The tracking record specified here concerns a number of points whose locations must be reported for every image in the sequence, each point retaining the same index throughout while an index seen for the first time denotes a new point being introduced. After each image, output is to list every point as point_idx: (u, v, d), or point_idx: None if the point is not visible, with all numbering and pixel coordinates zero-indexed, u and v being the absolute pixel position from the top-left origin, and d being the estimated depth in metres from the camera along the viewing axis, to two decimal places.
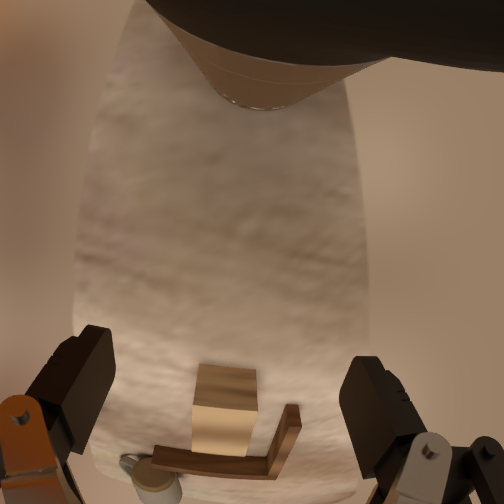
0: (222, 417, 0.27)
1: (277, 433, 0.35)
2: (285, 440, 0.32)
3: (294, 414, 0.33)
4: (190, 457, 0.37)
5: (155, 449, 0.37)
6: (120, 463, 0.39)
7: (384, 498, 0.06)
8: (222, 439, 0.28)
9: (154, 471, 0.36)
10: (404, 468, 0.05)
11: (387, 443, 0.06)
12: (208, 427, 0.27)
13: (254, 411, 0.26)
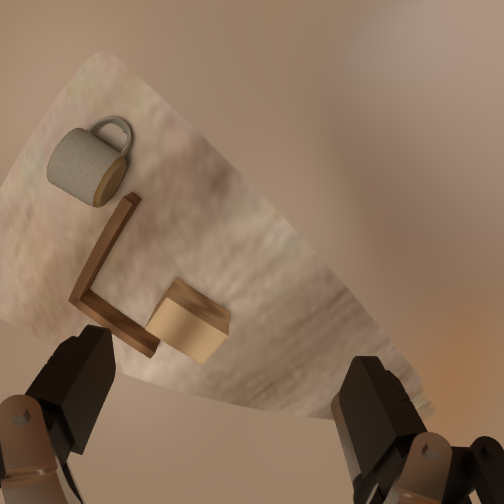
0: (206, 344, 0.38)
1: (129, 321, 0.43)
2: (137, 342, 0.41)
3: None
4: (118, 233, 0.38)
5: (138, 201, 0.37)
6: (123, 124, 0.33)
7: (384, 498, 0.06)
8: (177, 329, 0.38)
9: (113, 185, 0.34)
10: (404, 468, 0.05)
11: (387, 443, 0.06)
12: (198, 330, 0.38)
13: (203, 362, 0.39)
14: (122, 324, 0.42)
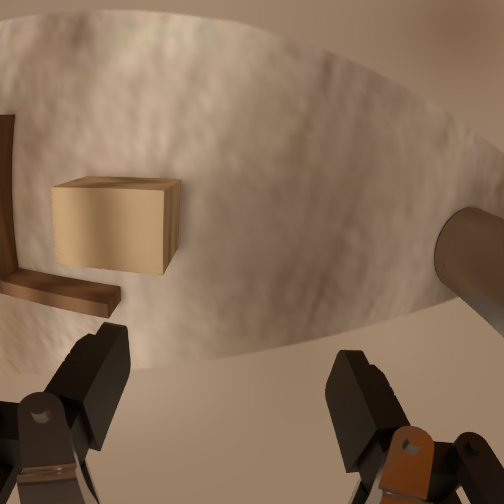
0: (142, 230, 0.20)
1: (70, 281, 0.27)
2: (79, 300, 0.25)
3: (115, 302, 0.27)
4: (4, 168, 0.22)
5: (9, 116, 0.21)
6: None
7: (368, 493, 0.06)
8: (90, 231, 0.20)
9: None
10: (385, 464, 0.05)
11: (368, 436, 0.07)
12: (116, 211, 0.20)
13: (161, 271, 0.22)
14: (57, 287, 0.26)
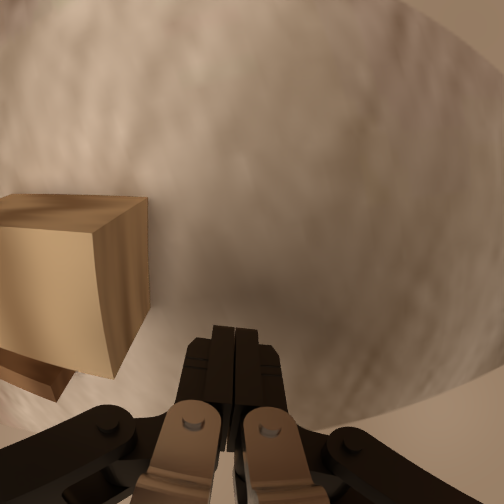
0: (65, 306, 0.10)
1: None
2: (16, 374, 0.14)
3: (66, 376, 0.16)
4: None
5: None
6: None
7: None
8: None
9: None
10: (248, 458, 0.05)
11: None
12: (21, 269, 0.09)
13: (110, 373, 0.11)
14: None
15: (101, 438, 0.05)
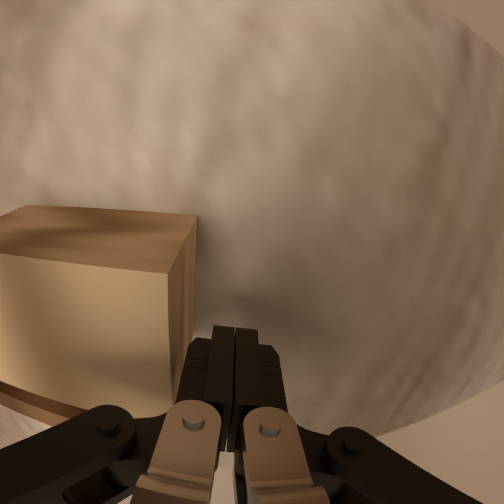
0: (121, 354, 0.08)
1: None
2: (55, 415, 0.13)
3: None
4: None
5: None
6: None
7: None
8: (20, 338, 0.08)
9: None
10: (248, 458, 0.05)
11: None
12: (59, 311, 0.08)
13: None
14: None
15: (101, 438, 0.05)
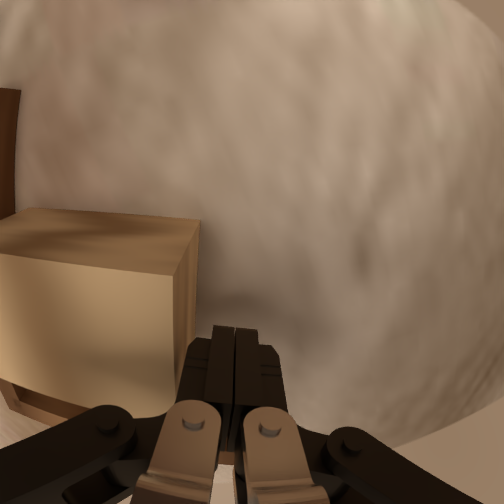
0: (126, 354, 0.09)
1: None
2: None
3: None
4: (0, 199, 0.11)
5: (10, 93, 0.10)
6: None
7: None
8: (26, 338, 0.08)
9: None
10: (248, 458, 0.05)
11: None
12: (65, 311, 0.08)
13: None
14: None
15: (101, 438, 0.05)
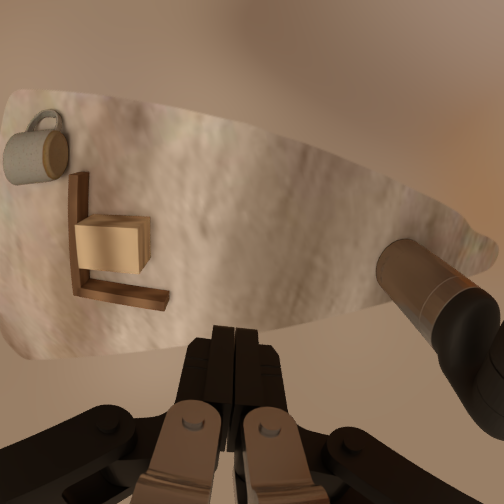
0: (127, 249, 0.37)
1: (133, 288, 0.44)
2: (144, 300, 0.42)
3: (167, 301, 0.44)
4: (84, 210, 0.40)
5: (86, 174, 0.38)
6: (49, 111, 0.34)
7: None
8: (98, 249, 0.37)
9: (59, 156, 0.35)
10: (248, 458, 0.05)
11: None
12: (112, 239, 0.36)
13: (138, 271, 0.38)
14: (126, 291, 0.43)
15: (101, 438, 0.05)
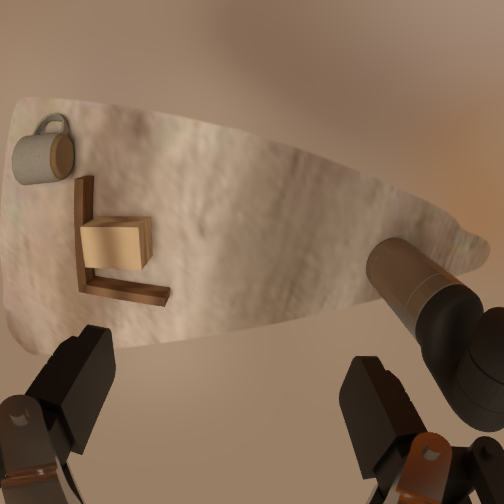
0: (129, 247, 0.40)
1: (136, 284, 0.47)
2: (146, 296, 0.45)
3: (167, 297, 0.47)
4: (89, 212, 0.42)
5: (91, 178, 0.41)
6: (55, 115, 0.37)
7: (384, 498, 0.06)
8: (103, 249, 0.40)
9: (65, 157, 0.38)
10: (404, 468, 0.05)
11: (387, 443, 0.06)
12: (115, 238, 0.39)
13: (141, 267, 0.41)
14: (129, 288, 0.46)
15: None
